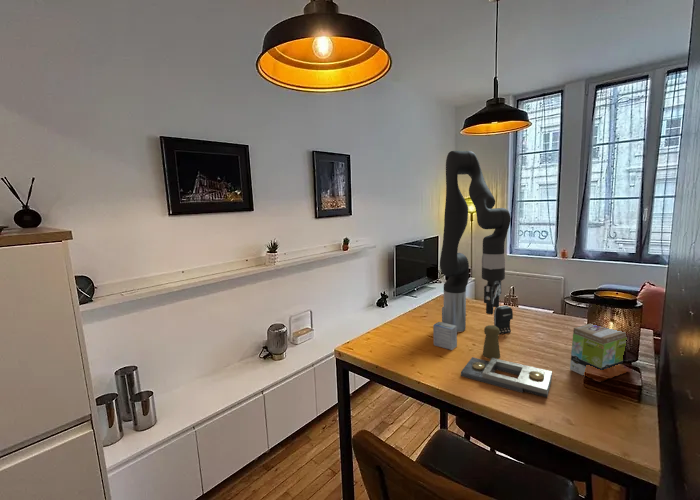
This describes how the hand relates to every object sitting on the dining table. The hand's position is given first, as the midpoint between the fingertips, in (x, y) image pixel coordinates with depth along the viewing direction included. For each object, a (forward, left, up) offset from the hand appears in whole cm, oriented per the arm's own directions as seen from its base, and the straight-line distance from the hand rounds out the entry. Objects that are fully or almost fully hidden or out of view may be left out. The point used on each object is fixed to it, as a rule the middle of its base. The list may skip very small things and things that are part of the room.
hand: (492, 310), depth 124 cm
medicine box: (-17, -1, -17) cm, 24 cm away
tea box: (+32, +6, -17) cm, 37 cm away
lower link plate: (+5, -14, -17) cm, 23 cm away
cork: (0, 0, -17) cm, 17 cm away
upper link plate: (+11, -14, -17) cm, 25 cm away
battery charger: (-1, +23, -17) cm, 29 cm away
